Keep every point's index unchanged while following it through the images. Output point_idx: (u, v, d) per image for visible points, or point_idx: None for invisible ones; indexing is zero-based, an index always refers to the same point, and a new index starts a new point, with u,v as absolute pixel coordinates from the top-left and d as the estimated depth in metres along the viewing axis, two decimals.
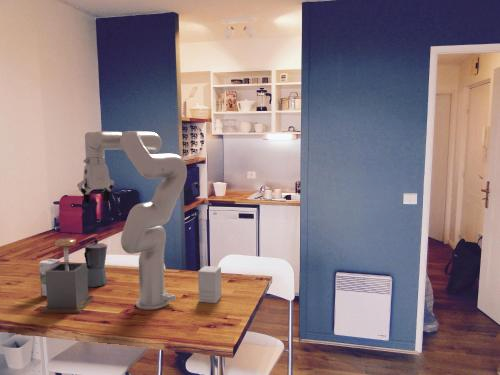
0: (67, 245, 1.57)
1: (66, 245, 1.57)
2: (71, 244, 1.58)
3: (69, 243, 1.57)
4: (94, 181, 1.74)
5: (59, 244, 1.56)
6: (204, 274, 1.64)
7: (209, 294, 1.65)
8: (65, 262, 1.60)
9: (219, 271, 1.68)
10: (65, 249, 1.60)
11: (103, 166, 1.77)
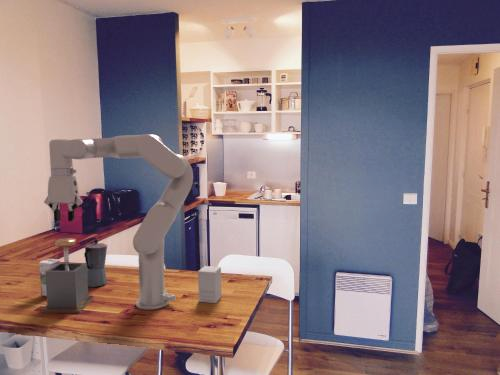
0: (67, 245, 1.57)
1: (66, 245, 1.57)
2: (71, 244, 1.58)
3: (69, 243, 1.57)
4: None
5: (59, 244, 1.56)
6: (204, 274, 1.64)
7: (209, 294, 1.65)
8: (65, 262, 1.60)
9: (219, 271, 1.68)
10: (65, 249, 1.60)
11: None
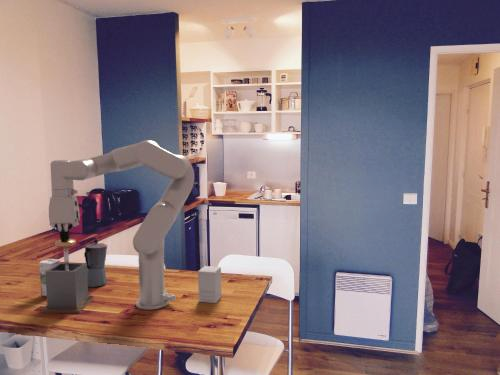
0: (67, 246, 1.57)
1: (66, 245, 1.57)
2: (71, 245, 1.58)
3: (69, 244, 1.57)
4: None
5: (59, 245, 1.56)
6: (204, 274, 1.64)
7: (209, 294, 1.65)
8: (65, 263, 1.60)
9: (219, 271, 1.68)
10: (65, 250, 1.60)
11: None
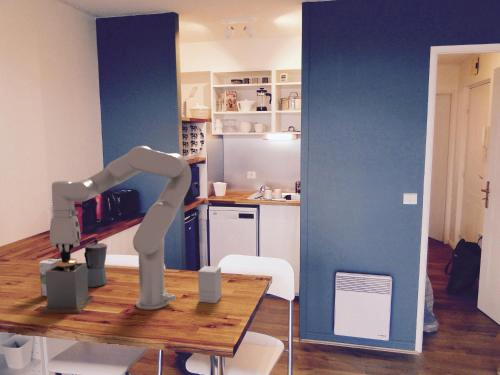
0: (68, 266, 1.58)
1: (67, 266, 1.58)
2: (72, 265, 1.59)
3: (70, 264, 1.58)
4: None
5: (60, 265, 1.57)
6: (204, 274, 1.64)
7: (209, 294, 1.65)
8: None
9: (219, 271, 1.68)
10: (66, 270, 1.60)
11: None
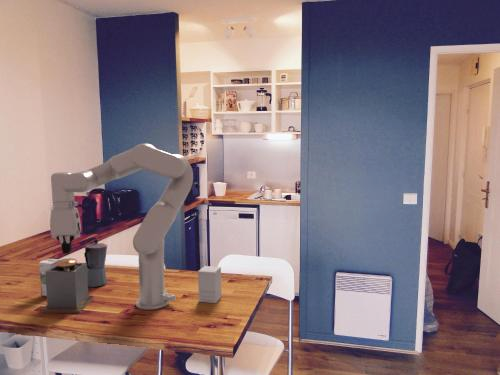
0: (68, 266, 1.58)
1: (67, 266, 1.58)
2: (72, 265, 1.59)
3: (70, 264, 1.58)
4: None
5: (60, 265, 1.57)
6: (204, 274, 1.64)
7: (209, 294, 1.65)
8: None
9: (219, 271, 1.68)
10: (66, 270, 1.60)
11: None
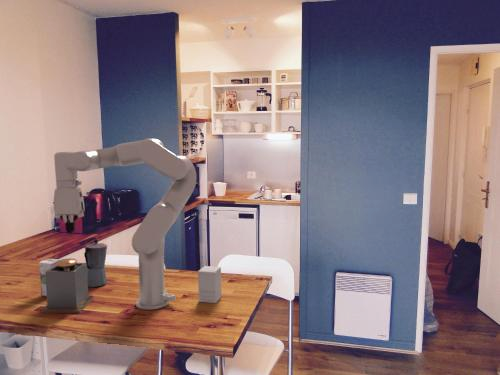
0: (68, 266, 1.58)
1: (67, 266, 1.58)
2: (72, 265, 1.59)
3: (70, 264, 1.58)
4: None
5: (60, 265, 1.57)
6: (204, 274, 1.64)
7: (209, 294, 1.65)
8: None
9: (219, 271, 1.68)
10: (66, 270, 1.60)
11: None
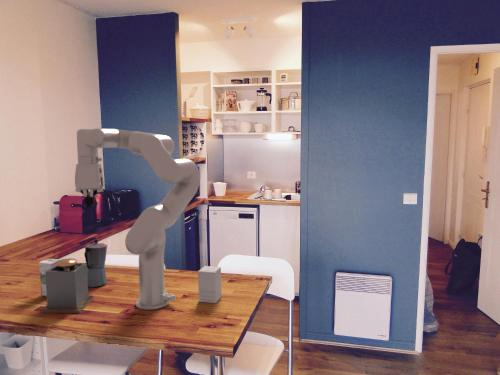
0: (68, 266, 1.58)
1: (67, 266, 1.58)
2: (72, 265, 1.59)
3: (70, 264, 1.58)
4: None
5: (60, 265, 1.57)
6: (204, 274, 1.64)
7: (209, 294, 1.65)
8: None
9: (219, 271, 1.68)
10: (66, 270, 1.60)
11: None
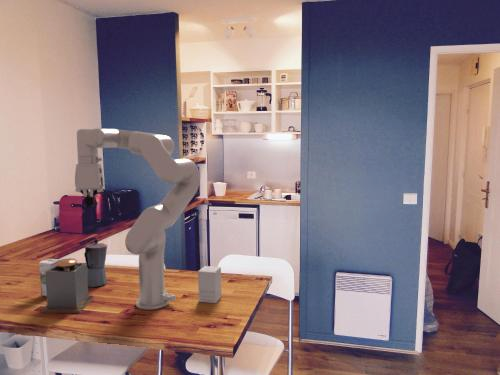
0: (68, 266, 1.58)
1: (67, 266, 1.58)
2: (72, 265, 1.59)
3: (70, 264, 1.58)
4: None
5: (60, 265, 1.57)
6: (204, 274, 1.64)
7: (209, 294, 1.65)
8: None
9: (219, 271, 1.68)
10: (66, 270, 1.60)
11: None
